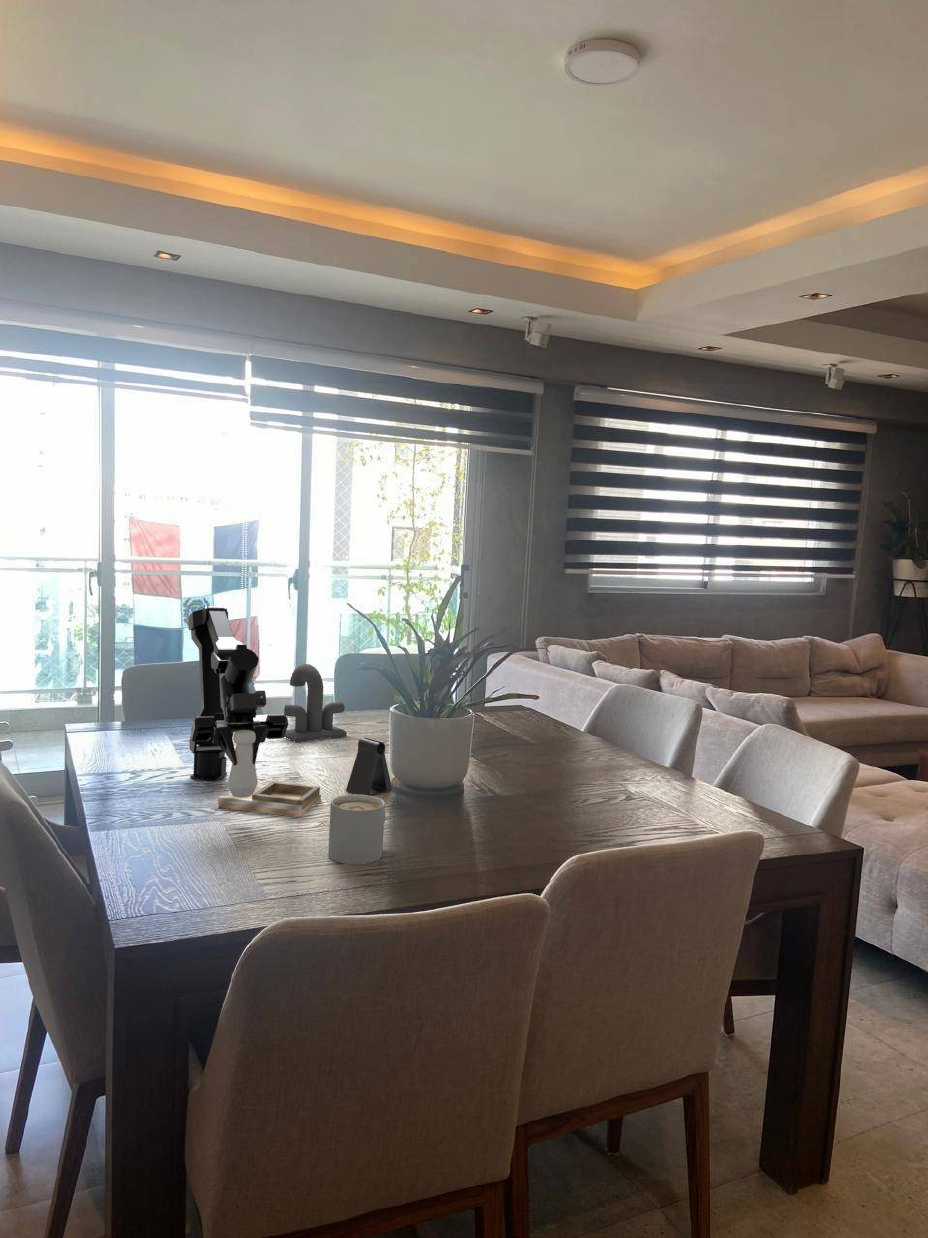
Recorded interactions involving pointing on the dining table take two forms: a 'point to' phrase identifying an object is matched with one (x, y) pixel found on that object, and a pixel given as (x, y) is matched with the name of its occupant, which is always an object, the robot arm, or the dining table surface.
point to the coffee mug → (356, 829)
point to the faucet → (312, 709)
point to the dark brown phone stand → (369, 770)
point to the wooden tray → (275, 799)
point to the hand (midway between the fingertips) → (244, 764)
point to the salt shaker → (243, 765)
